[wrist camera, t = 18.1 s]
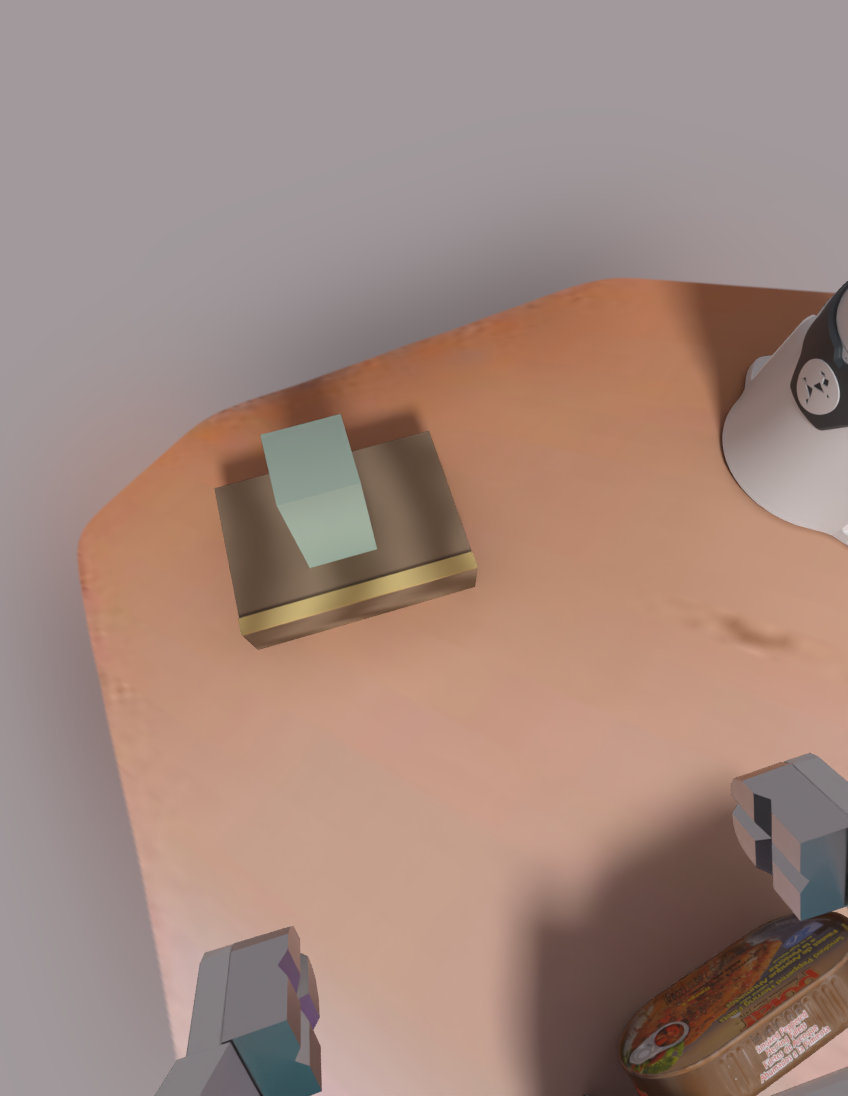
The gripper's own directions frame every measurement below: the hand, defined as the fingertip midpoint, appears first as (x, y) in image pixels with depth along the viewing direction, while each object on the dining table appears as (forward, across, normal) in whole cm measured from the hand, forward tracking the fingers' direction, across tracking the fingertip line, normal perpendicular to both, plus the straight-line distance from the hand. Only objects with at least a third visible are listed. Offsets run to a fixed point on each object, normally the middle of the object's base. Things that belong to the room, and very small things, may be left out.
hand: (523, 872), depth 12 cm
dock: (+40, +2, +8) cm, 41 cm away
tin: (+16, -12, +34) cm, 39 cm away
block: (+37, +3, +6) cm, 38 cm away
